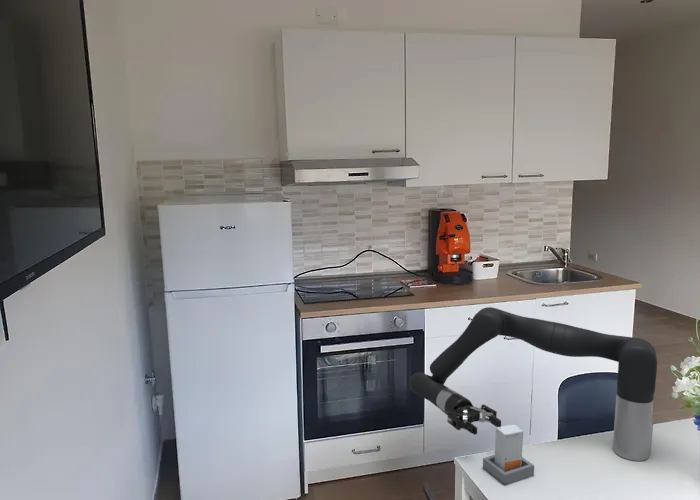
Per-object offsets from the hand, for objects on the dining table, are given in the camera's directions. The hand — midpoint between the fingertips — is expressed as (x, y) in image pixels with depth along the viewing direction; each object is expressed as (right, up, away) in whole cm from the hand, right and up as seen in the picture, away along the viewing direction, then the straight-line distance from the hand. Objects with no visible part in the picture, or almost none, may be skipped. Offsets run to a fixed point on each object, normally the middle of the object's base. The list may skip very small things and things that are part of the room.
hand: (488, 428), depth 149 cm
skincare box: (+4, -10, -6) cm, 12 cm away
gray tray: (+4, -10, -6) cm, 12 cm away
